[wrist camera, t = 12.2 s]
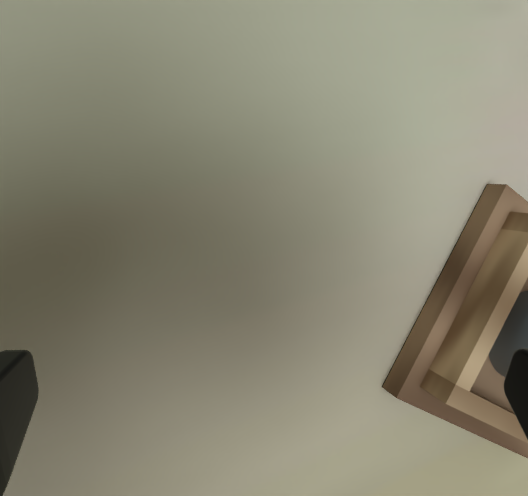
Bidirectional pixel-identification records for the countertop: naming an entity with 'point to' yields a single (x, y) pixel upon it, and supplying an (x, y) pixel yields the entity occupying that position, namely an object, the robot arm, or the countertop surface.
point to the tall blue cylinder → (511, 335)
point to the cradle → (470, 325)
